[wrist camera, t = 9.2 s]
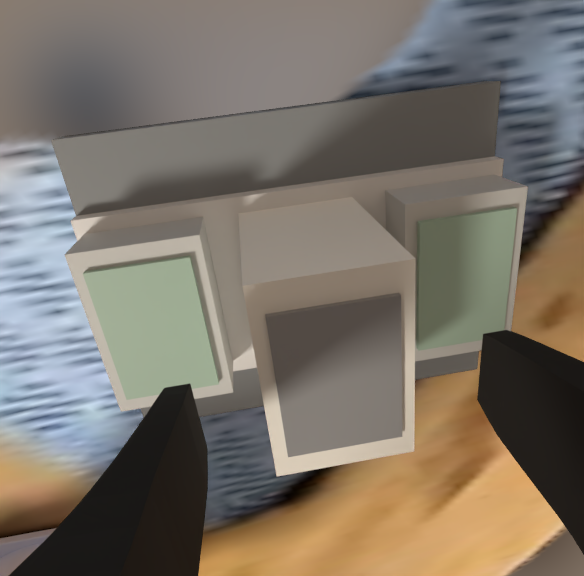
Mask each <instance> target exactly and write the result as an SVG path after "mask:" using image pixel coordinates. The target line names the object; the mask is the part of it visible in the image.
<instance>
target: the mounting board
mask: <svg viewBox="0 0 584 576" xmlns="http://www.w3.org/2000/svg"><path fill="white" fill-rule="evenodd" d="M500 85H501V81H482V82H475V83H467V84H460V85H452V86H444V87H437V88H429V89H422V90H414V91H406V92H399V93H391V94H383V95H376V96H368V97H361V98H353V99H345V100H338V101H330V102H322V103H315V104H307V105H300V106H292V107H284V108H277V109H269V110H262V111H254V112H246V113H240V114H231V115H223V116H216V117H208V118H200V119H193V120H186V121H178V122H170V123H163V124H156V125H147V126H139V127H132V128H125V129H117V130H109V131H101V132H94V133H86V134H79V135H71V136H63V137H59V138H56V139H53V140H51V142H52V145H53V148H54V151H55V154H56V157H57V160H58V163H59V166H60V169H61V172H62V175H63V178H64V181H65V184H66V187H67V190H68V193H69V196H70V199H71V202H72V205H73V208H74V211H75V214H76V217H74V218H73V219H72V220H71V223H72V226H73V229H74V232H75V235H76V238H77V242H76V243H75V244H74V245H73V246H72V248H71V249H70V250H69V251H68V252H67V253H66V254H65V257H66V260H67V263H68V266H69V268H70V271H71V274H72V277H73V279H74V282H75V285H76V288H77V291H78V293H79V296H80V299H81V302H82V304H83V307H84V310H85V313H86V316H87V318H88V321H89V324H90V327H91V329H92V332H93V335H94V338H95V341H96V343H97V346H98V349H99V352H100V354H101V357H102V360H103V363H104V366H105V368H106V371H107V374H108V377H109V379H110V382H111V385H112V388H113V391H114V393H115V396H116V399H117V402H118V404H119V407H120V410H121V411H127V410H133V409H139V408H141V411H142V414H143V417H145V415H146V414H147V412H148V411H149V409H150V408H151V406H152V405H153V403H154V402H155V400H156V399H157V397H158V396H159V394H160V393H161V392H162V390H163V389H164V388H166V387H172V386H178V385H184V384H189V383H190V384H191V388H192V392H193V396H194V399H195V403H196V407H197V411H198V415H199V417H202V416H208V415H214V414H220V413H226V412H231V411H237V410H243V409H249V408H255V407H260V406H264V403H263V398H262V392H261V387H260V381H259V376H258V370H257V365H256V359H255V353H254V348H253V342H252V337H251V331H250V326H249V320H248V315H247V309H246V304H245V298H244V293H243V287H242V272H241V253H240V235H239V216H238V213H245V212H252V211H259V210H265V209H272V208H279V207H286V206H293V205H300V204H306V203H313V202H320V201H327V200H334V199H341V198H347V197H353V198H354V199H355V200H356V201H357V202H358V203H359V204H360V205H361V206H362V207H363V208H364V209H365V210H366V211H367V212H368V213H369V214H370V215H371V216H372V217H373V218H374V219H375V220H376V221H377V222H378V223H379V224H380V225H381V226H382V227H383V228H384V229H385V230H386V231H388V232H389V233H390V234H391V235H392V236H393V237H394V238H395V239H396V240H397V241H398V242H399V243H400V244H401V245H402V246H403V247H404V248H405V249H406V250H407V251H408V252H409V253H410V254H411V255H412V256H413V257H414V258H415V259H416V264H415V380H417V379H422V378H428V377H434V376H440V375H446V374H451V373H457V372H463V371H469V370H475V369H477V366H478V354H479V351H480V350H482V339H483V334H485V333H491V332H497V331H503V330H509V331H511V327H512V318H513V310H514V301H515V292H516V284H517V275H518V267H519V258H520V250H521V241H522V232H523V224H524V215H525V207H526V198H527V190H528V186H525V185H522V184H520V183H517V182H514V181H511V180H509V179H506V178H503V177H502V172H503V161H504V159H502V158H499V157H495V146H496V134H497V122H498V109H499V97H500Z"/></svg>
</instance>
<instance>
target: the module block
mask: <svg viewBox="0 0 584 576" xmlns="http://www.w3.org/2000/svg"><path fill="white" fill-rule="evenodd" d="M238 216H239V235H240V253H241V272H242V287H243V293H244V298H245V304H246V309H247V315H248V320H249V326H250V331H251V337H252V342H253V348H254V353H255V359H256V365H257V370H258V376H259V381H260V387H261V392H262V398H263V403H264V409H265V414H266V420H267V425H268V431H269V436H270V442H271V447H272V453H273V458H274V464H275V469H276V475H277V477H278V476H283V475H288V474H294V473H299V472H305V471H310V470H316V469H321V468H326V467H332V466H337V465H343V464H348V463H354V462H359V461H365V460H370V459H375V458H381V457H386V456H392V455H397V454H403V453H408V452H413V451H414V424H415V264H416V259H415V258H414V257H413V256H412V255H411V254H410V253H409V252H408V251H407V250H406V249H405V248H404V247H403V246H402V245H401V244H400V243H399V242H398V241H397V240H396V239H395V238H394V237H393V236H392V235H391V234H390V233H389V232H388V231H386V230H385V229H384V228H383V227H382V226H381V225H380V224H379V223H378V222H377V221H376V220H375V219H374V218H373V217H372V216H371V215H370V214H369V213H368V212H367V211H366V210H365V209H364V208H363V207H362V206H361V205H360V204H359V203H358V202H357V201H356V200H355V199H354V198H353V197H347V198H341V199H334V200H327V201H320V202H313V203H306V204H300V205H293V206H286V207H279V208H272V209H265V210H259V211H252V212H245V213H238Z"/></svg>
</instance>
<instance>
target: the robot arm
mask: <svg viewBox="0 0 584 576" xmlns="http://www.w3.org/2000/svg"><path fill="white" fill-rule="evenodd" d="M477 400H478V402H479V403H480V405H481V407H482V409H483V411H484V413H485V414H486V416H487V418H488V420H489V422H490V423H491V425H492V427H493V428H494V430H495V432H496V434H497V435H498V437H499V438H500V439H501V441H502V442H503V444H504V445H505V446H506V448H507V449H508V450H509V452H510V453H511V454H512V456H513V457H514V458H515V460H516V461H517V462H518V464H519V465H520V466H521V468H522V469H523V470H524V472H525V473H526V474H527V476H528V477H529V478H530V480H531V481H532V482H533V484H534V485H535V486H536V488H537V489H538V490H539V491H540V493H541V494H542V495H543V497H544V498H545V499H546V501H547V502H548V503H549V505H550V506H551V507H552V509H553V510H554V511H555V513H556V514H557V515H558V517H559V518H560V519H561V521H562V522H563V524H564V525H565V527H566V528H567V529H568V531H569V532H570V534H571V535H572V536H573V538H574V540H575V541H576V543H577V545H578V546H579V548H580V549H581V551H582V553H583V554H584V362H582V361H580V360H577V359H575V358H573V357H571V356H568V355H566V354H564V353H561V352H559V351H557V350H555V349H552V348H550V347H548V346H546V345H543V344H541V343H539V342H536V341H534V340H532V339H529V338H527V337H525V336H522V335H520V334H517V333H514V332H512V331H509V330H503V331H497V332H491V333H485V334H483V339H482V351H481V363H480V375H479V387H478V399H477ZM207 490H208V462H207V445H206V441H205V437H204V434H203V430H202V426H201V422H200V418H199V415H198V411H197V407H196V403H195V399H194V396H193V392H192V388H191V384H190V383H189V384H184V385H178V386H172V387H166V388H164V389H163V390H162V392H161V393H160V394H159V396H158V397H157V399H156V400H155V402H154V403H153V405H152V406H151V408H150V409H149V411H148V412H147V414H146V415H145V417H144V418H143V420H142V421H141V423H140V424H139V426H138V427H137V429H136V430H135V431H134V433H133V434H132V436H131V437H130V438H129V440H128V441H127V443H126V444H125V445H124V447H123V448H122V450H121V451H120V452H119V454H118V455H117V457H116V458H115V459H114V461H113V462H112V463H111V464H110V466H109V467H108V468H107V470H106V471H105V472H104V473H103V475H102V476H101V477H100V478H99V480H98V481H97V482H96V483H95V485H94V486H93V487H92V489H91V490H90V491H89V492H88V493H87V495H86V496H85V497H84V498H83V499H82V501H81V502H80V503H79V504H78V505H77V506H76V508H75V509H74V510H73V511H72V512H71V513H70V514H69V515H68V516H67V517H66V519H65V520H64V521H63V522H62V523H61V524H60V525H59V526H58V527H57V528H54V529H48V530H43V531H38V532H32V533H27V534H21V535H16V536H11V537H5V538H0V576H198V572H199V563H200V554H201V545H202V536H203V527H204V518H205V509H206V500H207Z"/></svg>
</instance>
